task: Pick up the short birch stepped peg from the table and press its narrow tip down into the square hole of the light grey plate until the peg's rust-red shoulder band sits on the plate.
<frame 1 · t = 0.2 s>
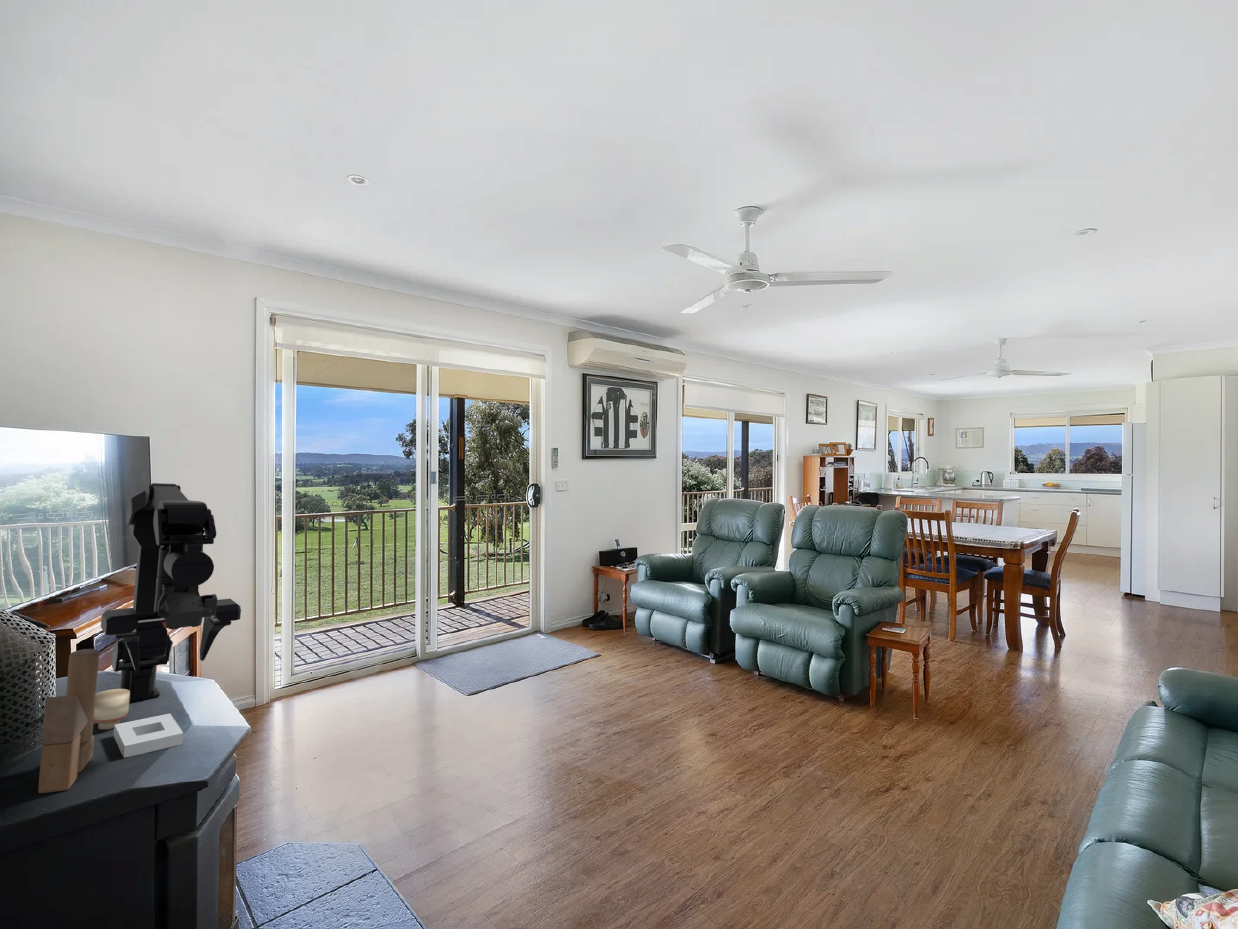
hand: (170, 665, 103), 14 cm above the countertop, tool pointing down, fingers open, 9 cm apart
peg: (108, 726, 109), on the countertop
board: (147, 740, 105), on the countertop
wooden block: (66, 776, 93), on the countertop
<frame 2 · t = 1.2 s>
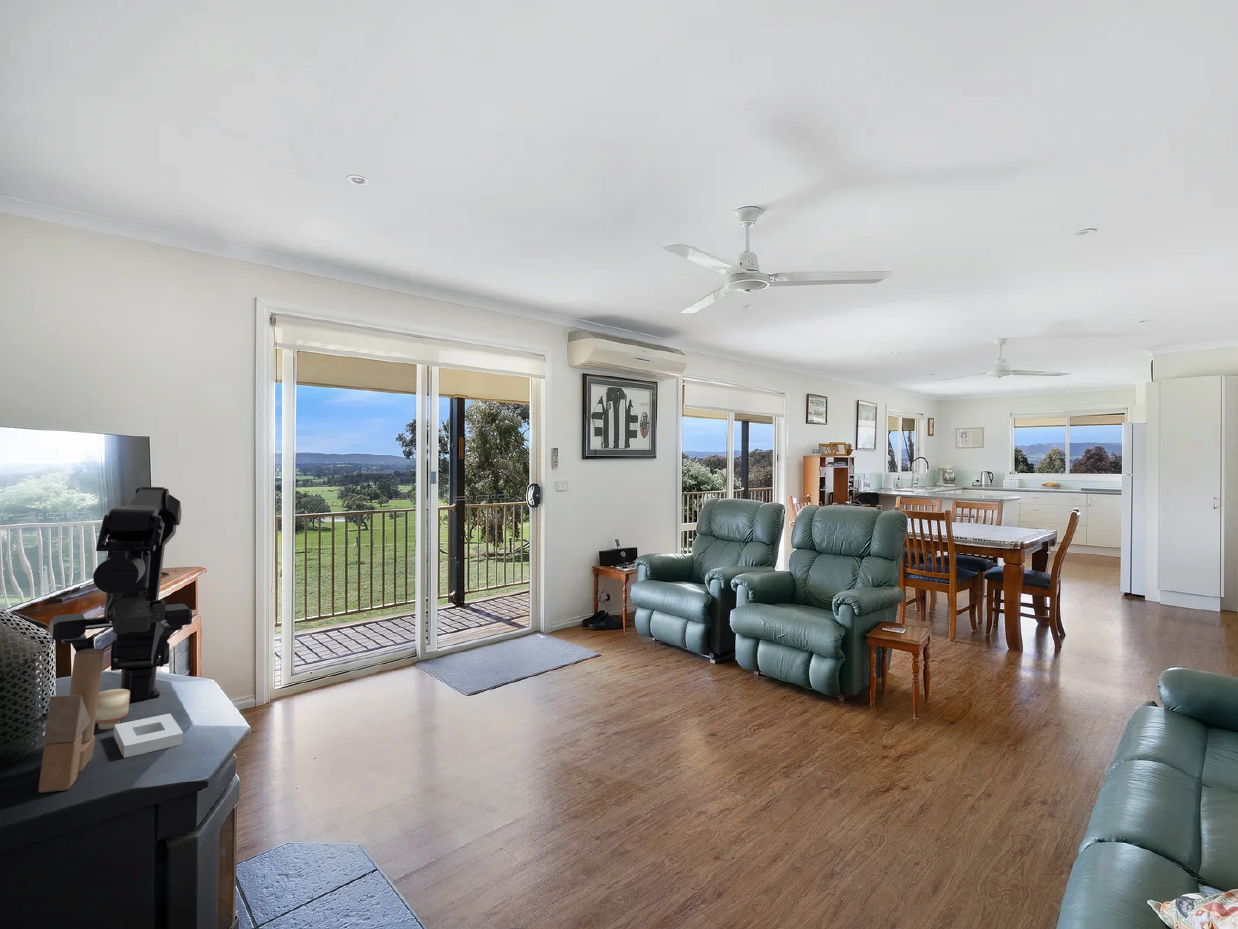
hand: (120, 669, 105), 12 cm above the countertop, tool pointing down, fingers open, 9 cm apart
nothing on the countertop moved.
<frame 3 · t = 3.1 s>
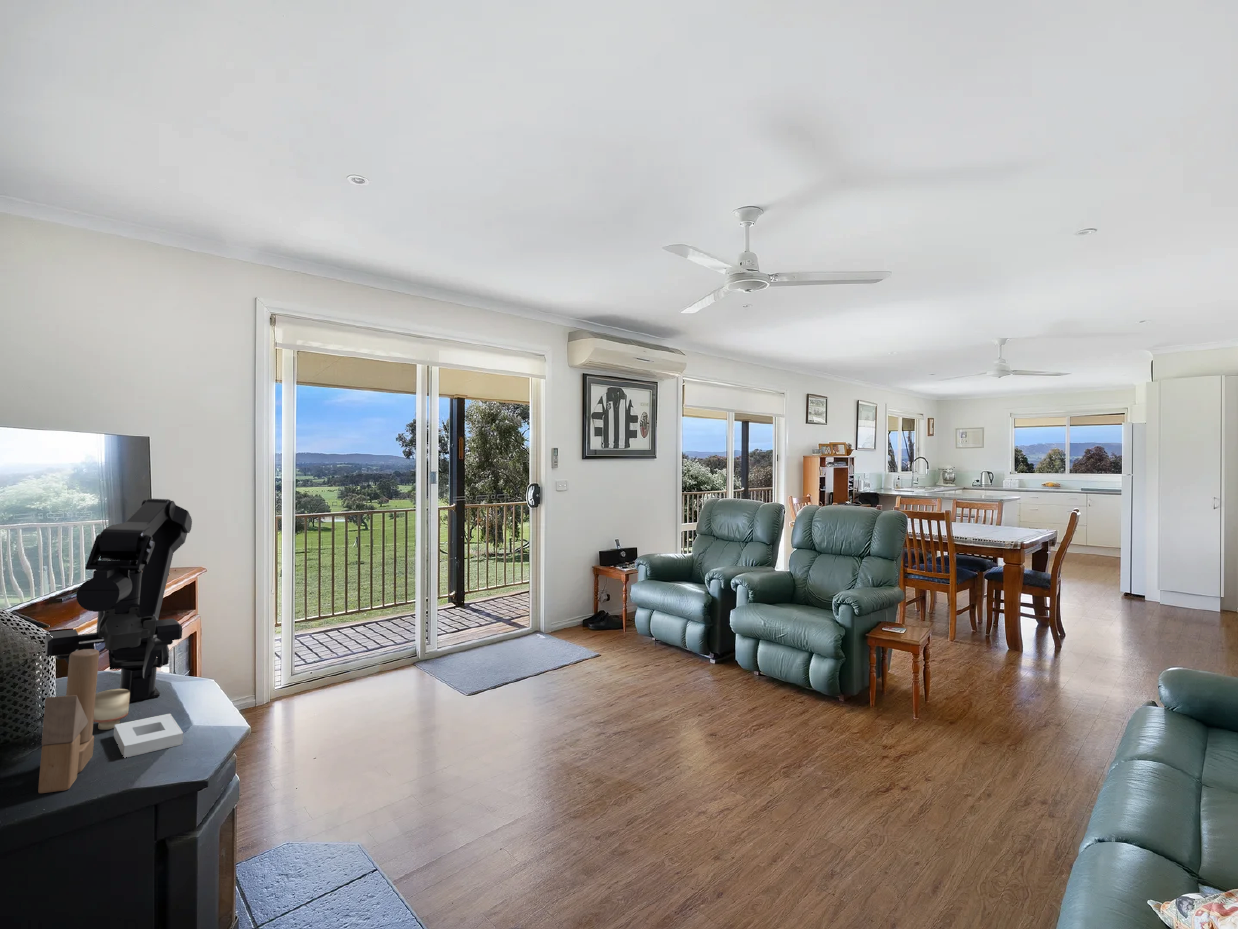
hand: (112, 683, 109), 8 cm above the countertop, tool pointing down, fingers open, 9 cm apart
nothing on the countertop moved.
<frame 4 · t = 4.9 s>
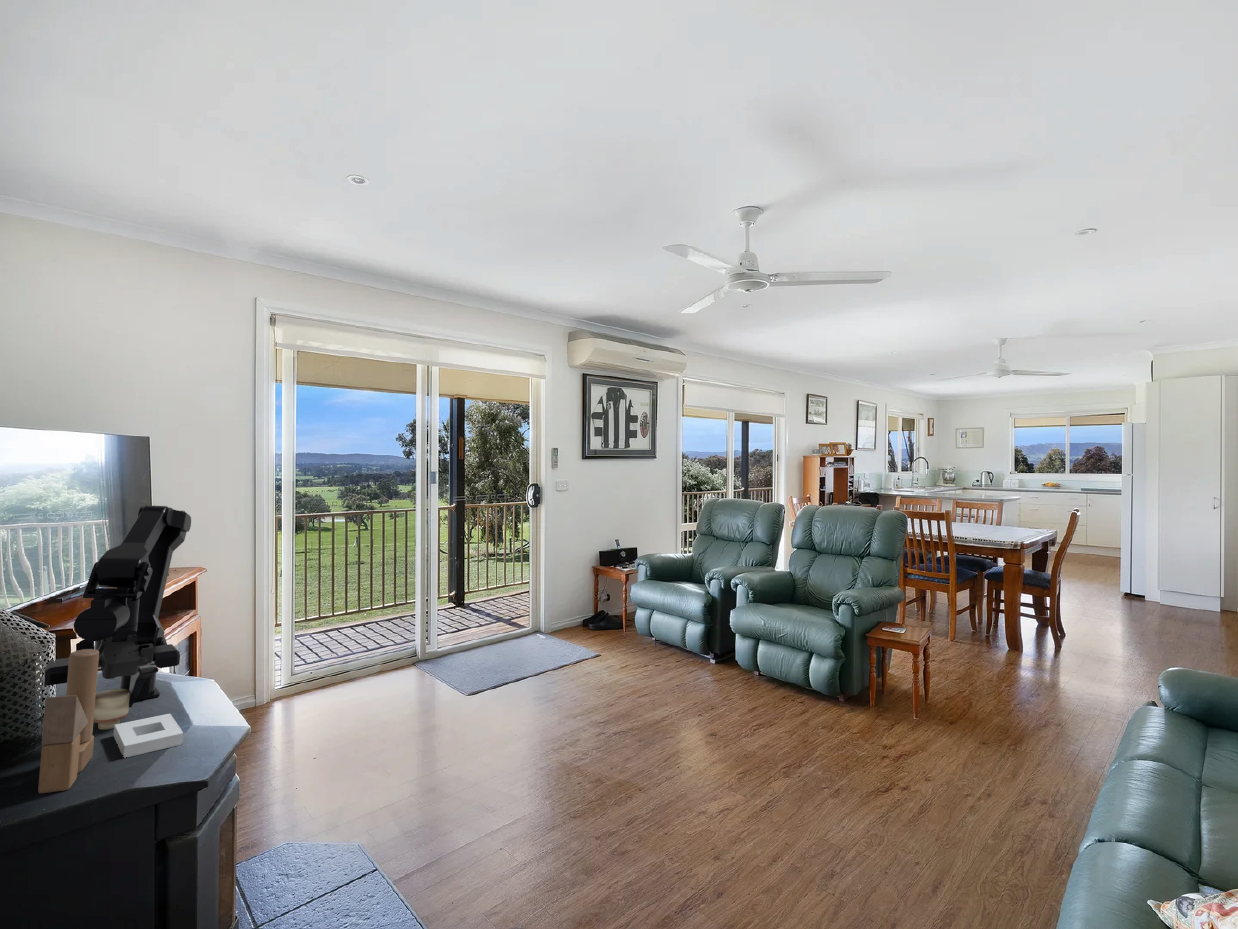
hand: (110, 710, 109), 3 cm above the countertop, tool pointing down, fingers closed on peg, 5 cm apart
peg: (108, 726, 109), on the countertop, touching gripper
everything else where it was.
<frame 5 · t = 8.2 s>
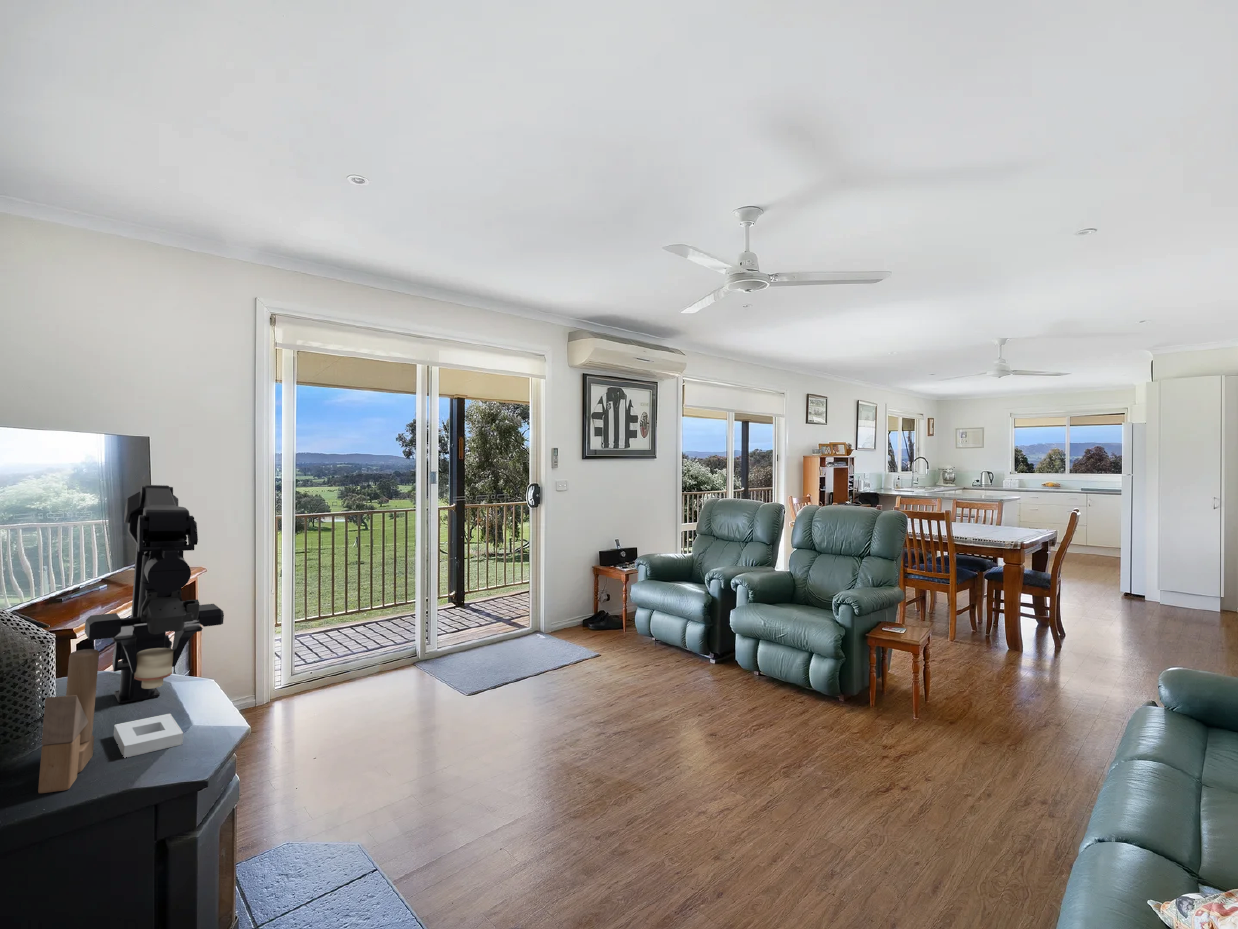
hand: (153, 669, 105), 12 cm above the countertop, tool pointing down, fingers closed on peg, 5 cm apart
peg: (152, 685, 105), point 10 cm above the countertop, touching gripper
everything else where it was.
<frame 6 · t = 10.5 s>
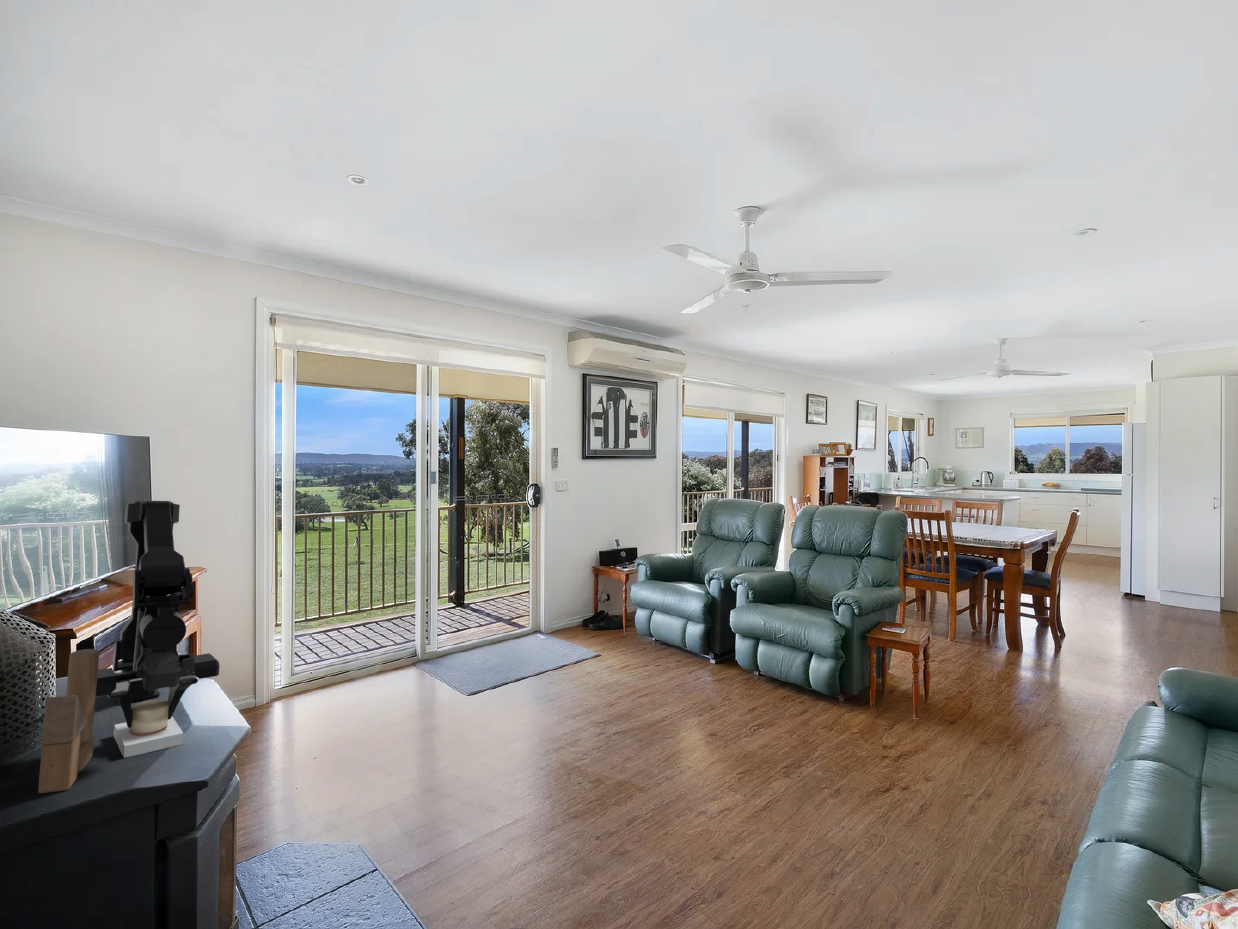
hand: (149, 722, 105), 3 cm above the countertop, tool pointing down, fingers closed on peg, 5 cm apart
peg: (147, 739, 105), resting in board, touching gripper
everything else where it was.
when the fingers open (3 cm above the countertop, at t = 11.4 s): peg stays where it is, resting on board.
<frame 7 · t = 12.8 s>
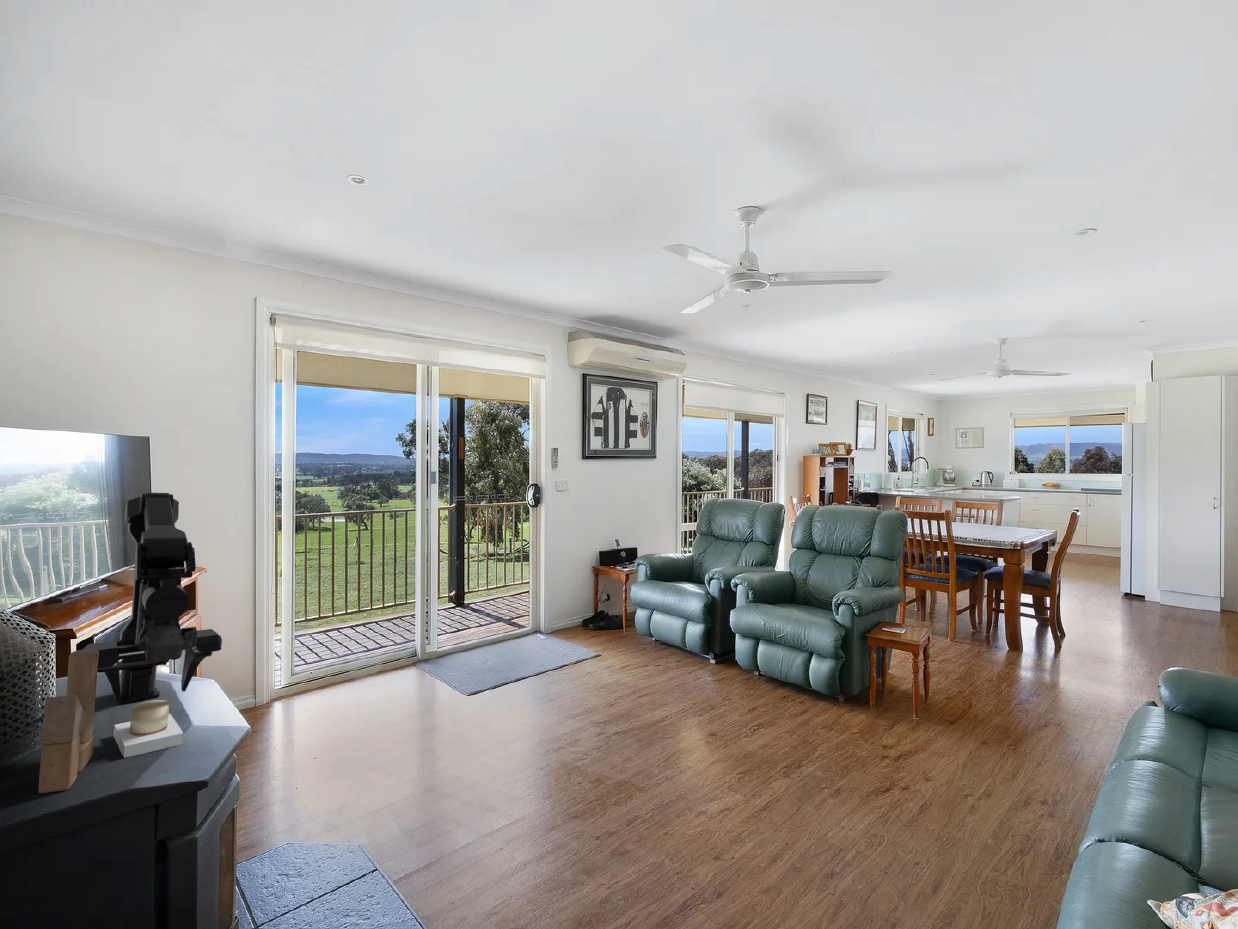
hand: (151, 696, 105), 8 cm above the countertop, tool pointing down, fingers open, 9 cm apart
peg: (147, 739, 105), resting on board
wooden block: (66, 775, 93), on the countertop, touching gripper
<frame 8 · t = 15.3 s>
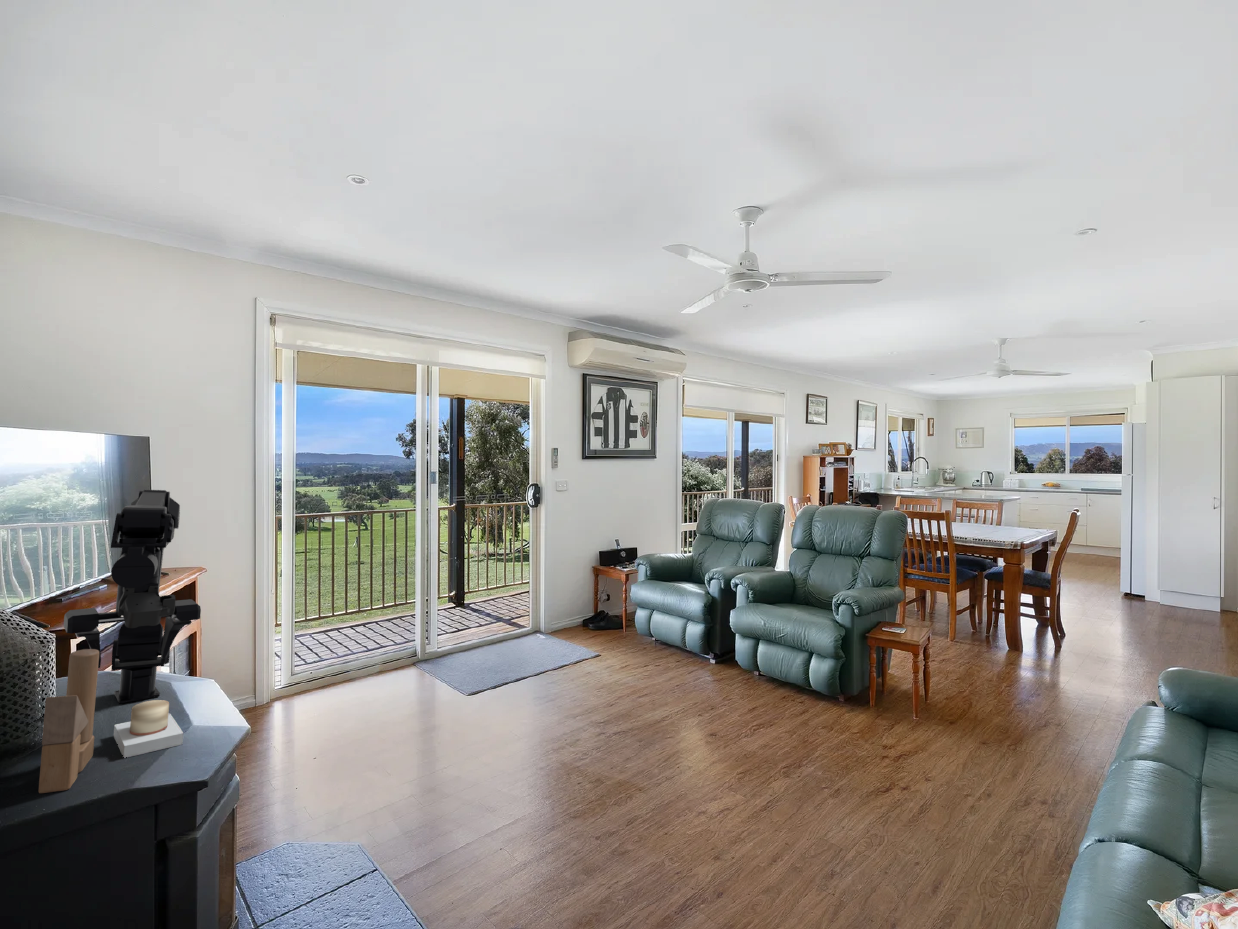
hand: (131, 662, 109), 12 cm above the countertop, tool pointing down, fingers open, 9 cm apart
wooden block: (67, 776, 93), on the countertop
everything else where it was.
at the end: peg 0.0 cm from the board (horizontally); peg resting in board; peg tilted 0° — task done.
